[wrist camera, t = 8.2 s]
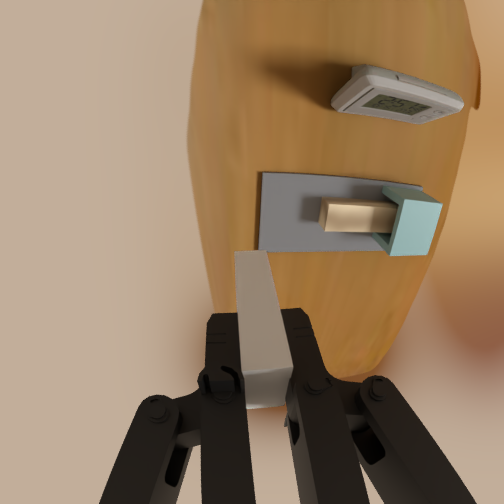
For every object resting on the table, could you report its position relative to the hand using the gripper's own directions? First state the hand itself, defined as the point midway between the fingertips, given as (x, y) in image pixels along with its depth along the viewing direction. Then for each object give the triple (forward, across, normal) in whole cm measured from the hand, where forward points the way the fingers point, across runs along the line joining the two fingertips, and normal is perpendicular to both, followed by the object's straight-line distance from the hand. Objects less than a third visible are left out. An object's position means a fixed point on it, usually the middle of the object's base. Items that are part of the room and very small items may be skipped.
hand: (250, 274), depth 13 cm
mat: (+24, +17, -8) cm, 31 cm away
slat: (+24, +19, -7) cm, 31 cm away
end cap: (+24, +26, -7) cm, 36 cm away
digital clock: (+25, +20, +11) cm, 34 cm away
